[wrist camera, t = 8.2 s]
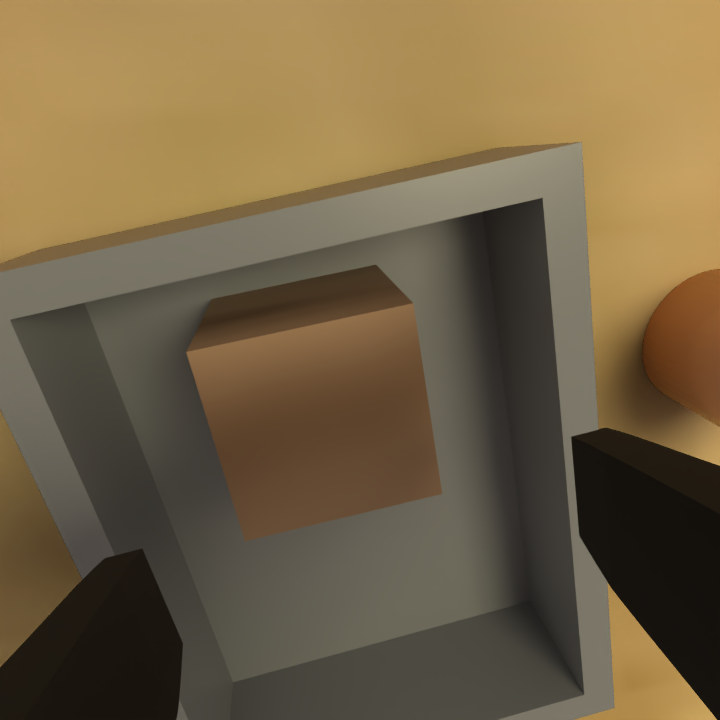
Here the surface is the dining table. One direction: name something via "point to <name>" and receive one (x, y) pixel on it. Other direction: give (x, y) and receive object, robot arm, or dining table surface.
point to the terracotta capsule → (687, 345)
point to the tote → (362, 531)
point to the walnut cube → (316, 400)
